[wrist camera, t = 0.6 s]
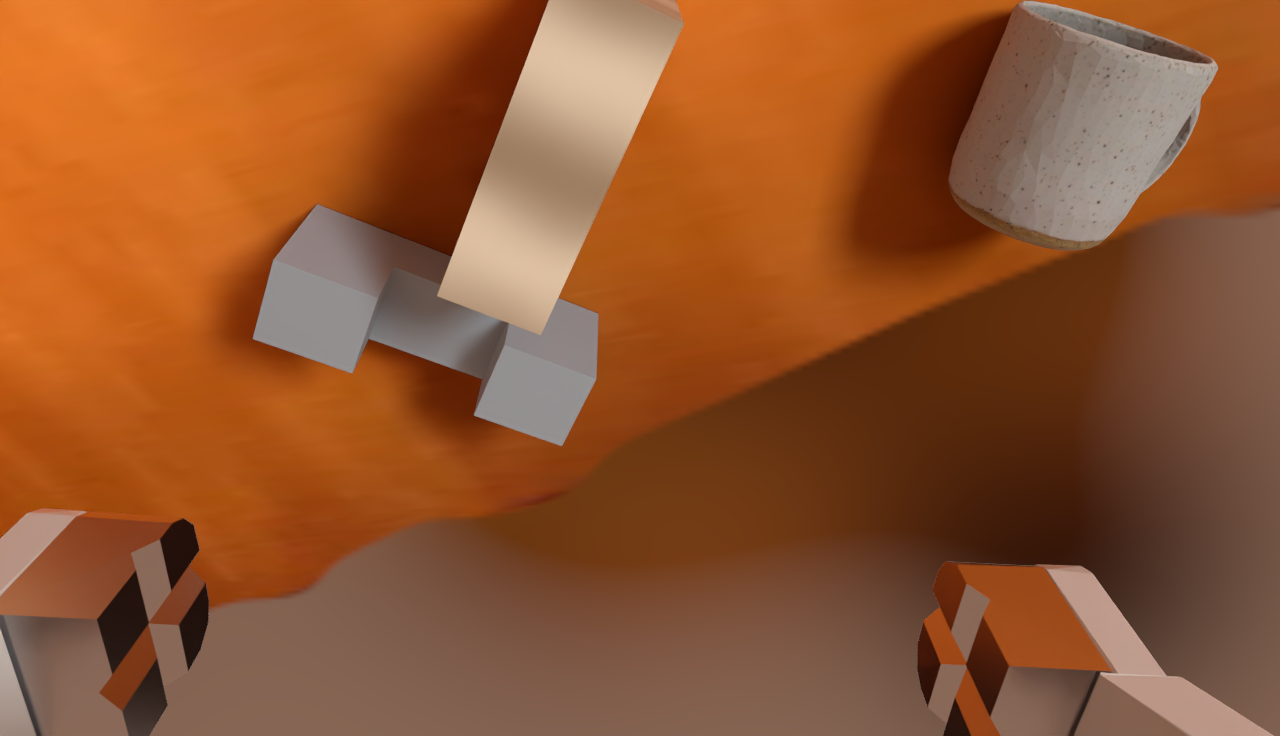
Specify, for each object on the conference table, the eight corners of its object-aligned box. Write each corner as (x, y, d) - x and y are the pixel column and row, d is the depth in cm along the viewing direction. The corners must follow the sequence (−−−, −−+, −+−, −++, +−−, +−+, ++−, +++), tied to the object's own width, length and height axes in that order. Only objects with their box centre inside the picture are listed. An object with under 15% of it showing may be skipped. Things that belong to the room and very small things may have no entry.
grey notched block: (296, 276, 42) (252, 338, 37) (316, 204, 40) (273, 259, 35) (567, 375, 45) (561, 446, 40) (598, 313, 43) (596, 378, 38)
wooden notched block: (556, 229, 41) (540, 335, 32) (474, 195, 40) (436, 296, 31) (667, -25, 35) (684, 23, 27) (575, -71, 34) (562, -36, 26)
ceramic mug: (914, 177, 40) (977, 246, 33) (986, -12, 36) (1074, 25, 29) (1122, 216, 41) (1221, 290, 35) (1215, 39, 37) (1347, 86, 31)
